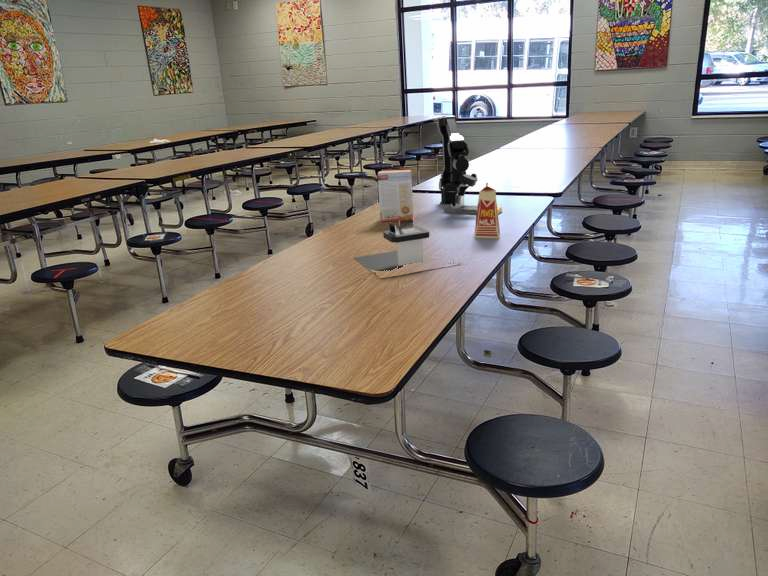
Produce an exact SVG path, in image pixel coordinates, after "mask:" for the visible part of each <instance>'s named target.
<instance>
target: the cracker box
mask: <svg viewBox="0 0 768 576" xmlns="http://www.w3.org/2000/svg"><path fill="white" fill-rule="evenodd" d="M412 180H413V179H412V170H411V169H399V170H398V169H397V170H380V171H378V172H377V187H378V188H377V189H378V203H379V216H380V222H399V221H401V222H404V221H405V220H410V221H413V220H412V219H414V200H413V181H412ZM405 222H406V221H405Z"/></svg>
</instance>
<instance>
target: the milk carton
mask: <svg viewBox="0 0 768 576" xmlns="http://www.w3.org/2000/svg"><path fill="white" fill-rule="evenodd" d="M488 185H489V182H486V183H485V187H483V188H482V189H481V190H480V191H479V195H478V199H477V205H476V206H477V214H475V215H476V216H475V226H474V227H475V228H474V236H473V237H474V239H500V237H501V230H500V229H501V228H500V221H499V214H498V210H497V207H498V203H497V195H496V194H497V191H496V189H494V188H492V187H490V186H488Z"/></svg>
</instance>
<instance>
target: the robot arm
mask: <svg viewBox="0 0 768 576" xmlns="http://www.w3.org/2000/svg"><path fill="white" fill-rule="evenodd" d="M457 124H458V123H457V117H456V115H445V116H443V117H439V118H438V119H437V120H436V128H437V130H438V133H439V135H440V136H441V140H442V158H443V159H442V161H443V164H442V165H443V170H442V172H441V174H440V177H439V180H438V190H439V191H440V198H441V199H440V200H441V201H440V202H439V203H440V204H447V205H448V204H449V205H451V204H452V206H455V205H456V197H457V195H464V196H465V194H466V191H467V190H468V188H470V187H475V186H476V183H477V182H478V177H477V174H476V173H471V174H467V170H468V169H469V167H470V163H469V160H468V159H467V158H465V157H467V156H469V153H470V152H469V146H468V144H467V141H466V140H465V138H464V136H463V135H460V132H459V129H458V126H457Z"/></svg>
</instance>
